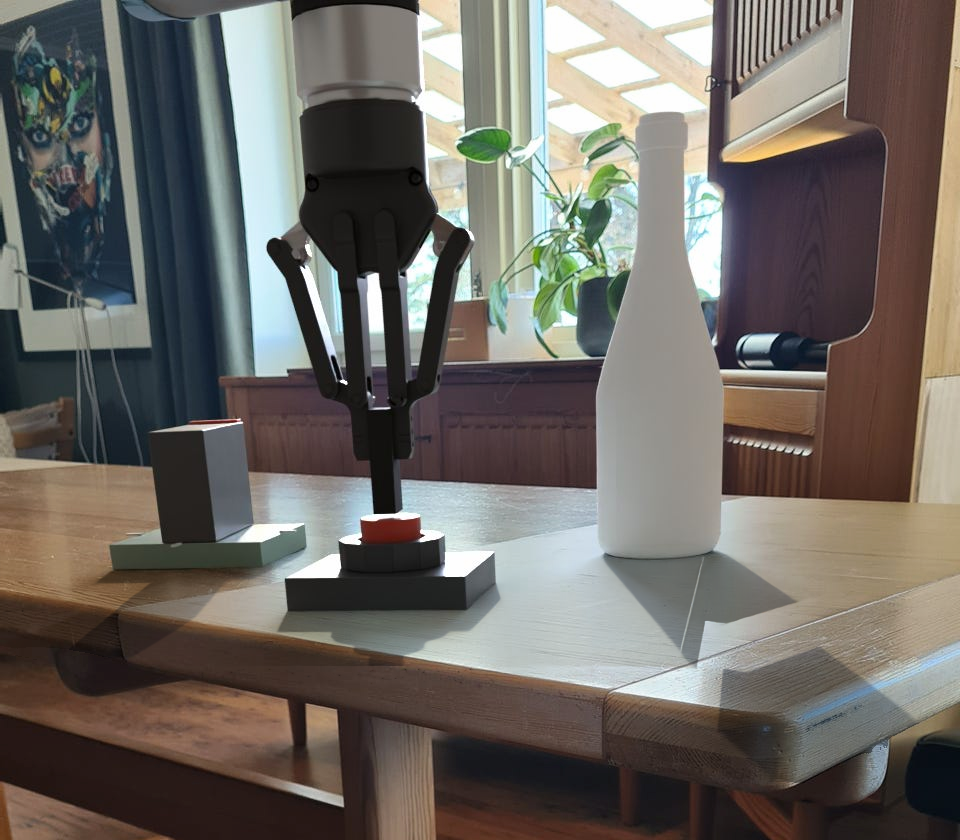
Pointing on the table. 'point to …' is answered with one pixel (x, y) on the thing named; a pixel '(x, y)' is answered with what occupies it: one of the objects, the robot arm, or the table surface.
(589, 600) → the table surface
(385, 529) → the button
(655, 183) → the wine bottle
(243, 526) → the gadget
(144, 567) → the platform
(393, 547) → the switch box
